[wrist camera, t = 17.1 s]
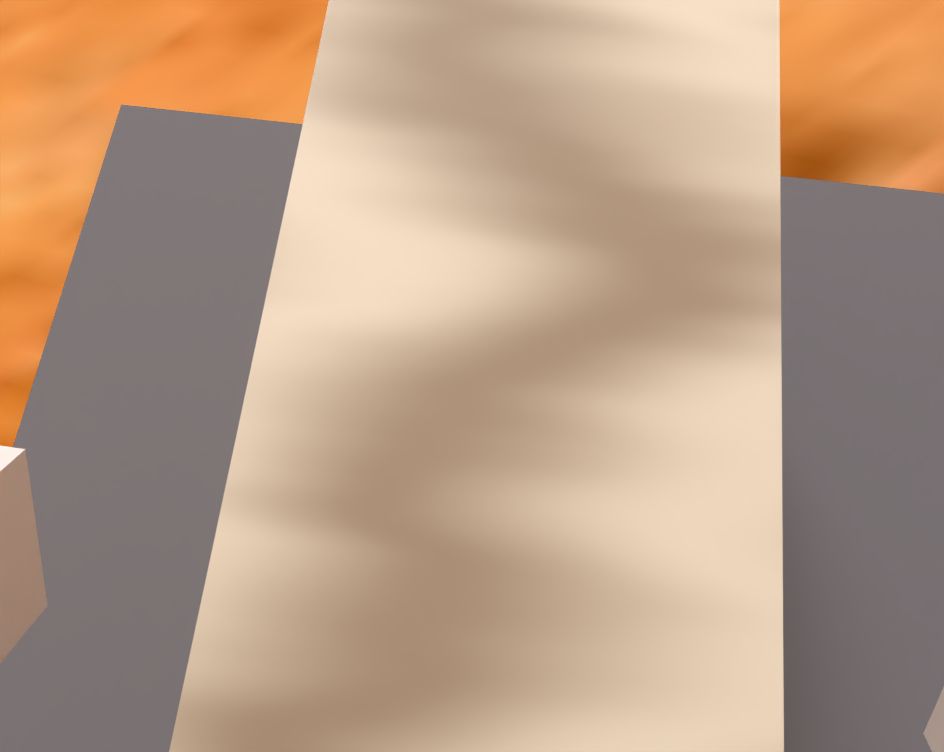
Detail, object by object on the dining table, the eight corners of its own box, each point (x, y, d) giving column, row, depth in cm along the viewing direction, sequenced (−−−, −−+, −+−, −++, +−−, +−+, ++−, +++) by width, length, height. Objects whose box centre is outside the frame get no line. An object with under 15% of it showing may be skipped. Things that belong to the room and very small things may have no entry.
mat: (968, 206, 20) (977, 197, 20) (1033, 1094, 14) (1047, 1104, 14) (127, 115, 21) (121, 105, 21) (-123, 916, 15) (-138, 922, 15)
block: (778, -62, 12) (785, 938, 8) (661, 227, 20) (634, 817, 16) (349, -98, 12) (147, 854, 8) (397, 200, 20) (303, 775, 16)
